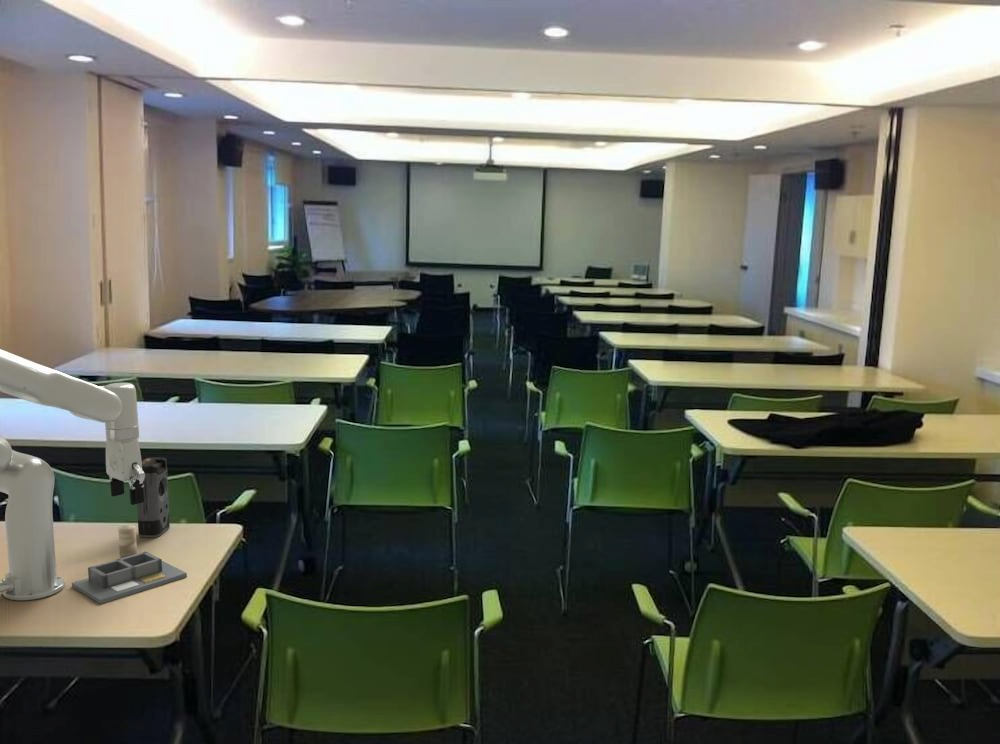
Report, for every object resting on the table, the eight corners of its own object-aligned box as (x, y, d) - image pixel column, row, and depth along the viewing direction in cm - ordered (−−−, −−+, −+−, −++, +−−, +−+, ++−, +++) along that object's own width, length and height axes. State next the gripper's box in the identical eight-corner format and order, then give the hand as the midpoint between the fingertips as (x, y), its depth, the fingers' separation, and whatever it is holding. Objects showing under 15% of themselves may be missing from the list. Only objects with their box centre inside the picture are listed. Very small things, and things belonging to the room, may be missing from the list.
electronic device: (158, 538, 237) (154, 466, 233) (136, 537, 237) (132, 465, 233) (171, 526, 246) (168, 457, 243) (150, 526, 246) (147, 456, 243)
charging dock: (100, 604, 196) (99, 587, 195) (71, 586, 204) (70, 570, 204) (186, 576, 211) (186, 561, 211) (156, 561, 220) (156, 546, 220)
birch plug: (124, 562, 220) (123, 531, 218) (117, 558, 222) (115, 528, 221) (140, 558, 223) (138, 527, 221) (132, 554, 225) (130, 524, 224)
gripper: (91, 430, 220) (96, 495, 223) (125, 442, 209) (130, 510, 212) (120, 424, 226) (125, 488, 229) (154, 436, 215) (159, 503, 218)
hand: (127, 499), depth 220 cm, fingers open, 9 cm apart
